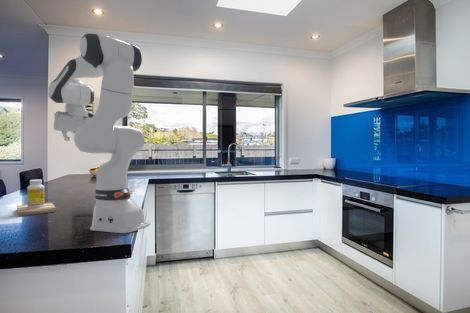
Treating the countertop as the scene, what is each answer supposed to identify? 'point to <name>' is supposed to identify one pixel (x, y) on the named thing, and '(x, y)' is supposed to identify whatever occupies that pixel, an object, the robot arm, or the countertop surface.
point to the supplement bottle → (35, 194)
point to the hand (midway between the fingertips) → (76, 140)
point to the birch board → (35, 209)
